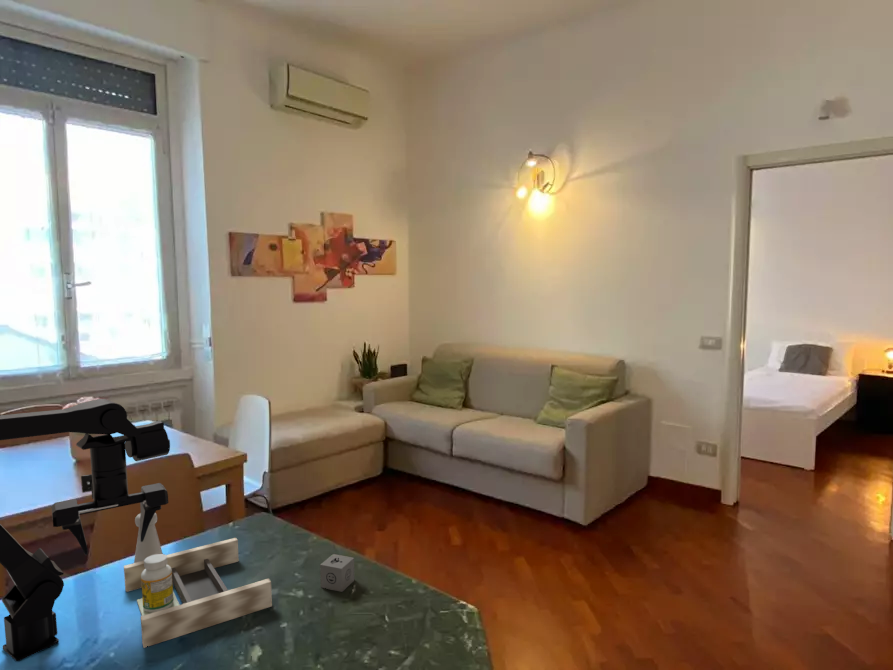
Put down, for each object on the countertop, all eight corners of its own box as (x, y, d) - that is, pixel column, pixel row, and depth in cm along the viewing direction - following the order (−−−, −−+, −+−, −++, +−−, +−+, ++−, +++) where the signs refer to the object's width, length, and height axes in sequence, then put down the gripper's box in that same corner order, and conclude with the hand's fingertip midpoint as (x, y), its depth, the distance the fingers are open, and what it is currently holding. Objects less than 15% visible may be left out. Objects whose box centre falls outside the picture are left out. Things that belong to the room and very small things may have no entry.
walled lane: (143, 647, 104) (141, 620, 103) (125, 589, 123) (123, 565, 123) (271, 606, 117) (271, 581, 116) (236, 558, 136) (235, 537, 136)
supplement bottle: (174, 609, 115) (171, 561, 114) (143, 616, 112) (140, 567, 111) (172, 595, 120) (170, 549, 119) (142, 603, 117) (139, 555, 116)
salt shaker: (169, 565, 133) (166, 508, 132) (154, 578, 128) (151, 519, 126) (144, 564, 134) (141, 508, 133) (128, 577, 128) (124, 518, 127)
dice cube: (333, 576, 128) (333, 553, 128) (354, 580, 126) (354, 557, 126) (321, 587, 123) (320, 564, 123) (342, 592, 122) (341, 568, 121)
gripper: (156, 448, 124) (160, 521, 125) (47, 465, 113) (54, 544, 115) (166, 462, 115) (171, 540, 116) (49, 482, 104) (56, 567, 106)
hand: (114, 547), depth 114 cm, fingers open, 9 cm apart
